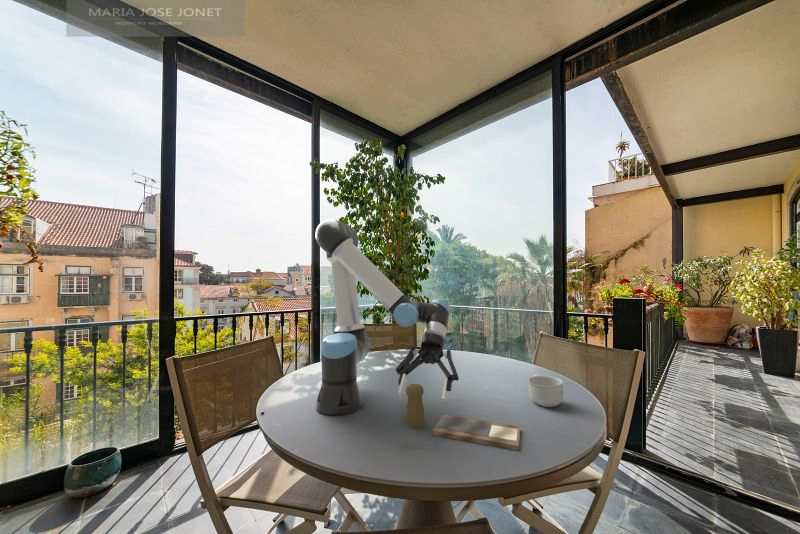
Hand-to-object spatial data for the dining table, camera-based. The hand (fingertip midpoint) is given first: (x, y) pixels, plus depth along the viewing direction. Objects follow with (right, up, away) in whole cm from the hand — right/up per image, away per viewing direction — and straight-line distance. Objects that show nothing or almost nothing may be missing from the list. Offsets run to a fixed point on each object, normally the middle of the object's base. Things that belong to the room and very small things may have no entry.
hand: (421, 398), depth 96 cm
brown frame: (+15, -6, -8) cm, 18 cm away
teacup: (+43, -7, +13) cm, 46 cm away
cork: (-2, -7, -1) cm, 7 cm away
